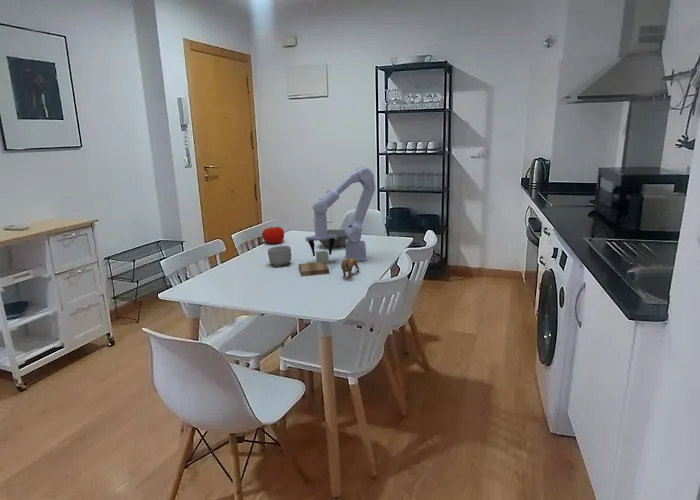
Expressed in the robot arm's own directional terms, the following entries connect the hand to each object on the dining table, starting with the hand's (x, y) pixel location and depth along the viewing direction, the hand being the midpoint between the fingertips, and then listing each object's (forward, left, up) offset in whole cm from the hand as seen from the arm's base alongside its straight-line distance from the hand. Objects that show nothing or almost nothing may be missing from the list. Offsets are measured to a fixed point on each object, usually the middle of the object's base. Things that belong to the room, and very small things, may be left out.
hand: (322, 255), depth 216 cm
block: (0, 0, -4) cm, 4 cm away
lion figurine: (-9, +24, -4) cm, 26 cm away
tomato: (+20, -49, -4) cm, 53 cm away
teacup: (+19, -5, -4) cm, 20 cm away
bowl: (-11, -29, -4) cm, 31 cm away
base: (+6, +12, -4) cm, 14 cm away
